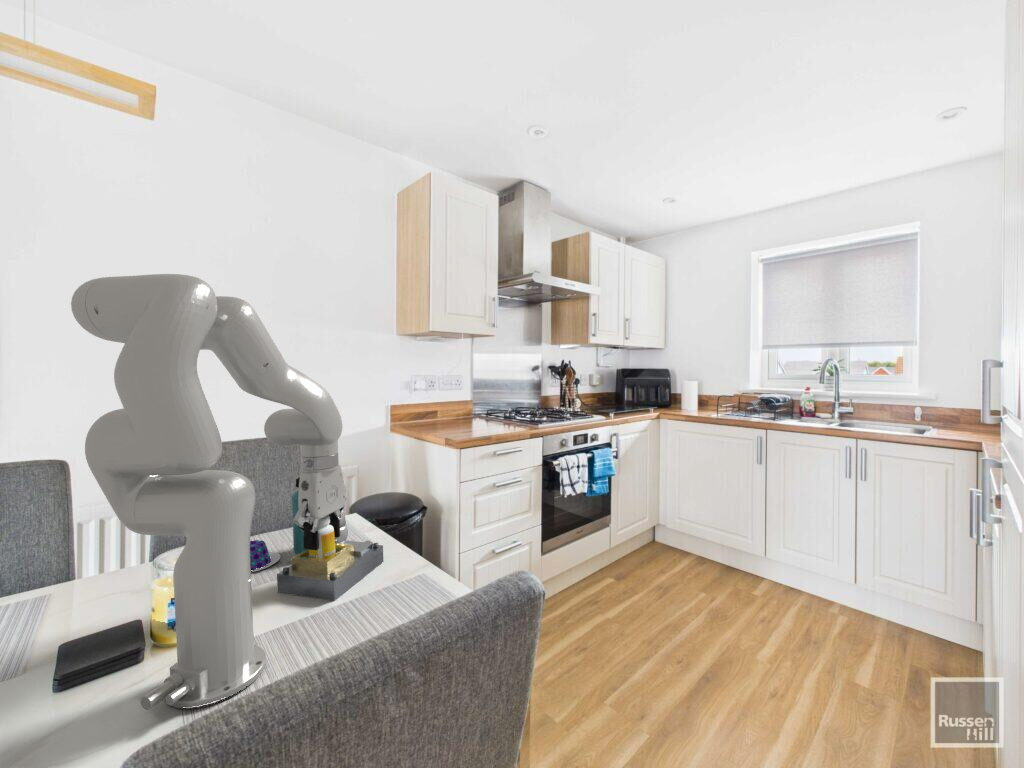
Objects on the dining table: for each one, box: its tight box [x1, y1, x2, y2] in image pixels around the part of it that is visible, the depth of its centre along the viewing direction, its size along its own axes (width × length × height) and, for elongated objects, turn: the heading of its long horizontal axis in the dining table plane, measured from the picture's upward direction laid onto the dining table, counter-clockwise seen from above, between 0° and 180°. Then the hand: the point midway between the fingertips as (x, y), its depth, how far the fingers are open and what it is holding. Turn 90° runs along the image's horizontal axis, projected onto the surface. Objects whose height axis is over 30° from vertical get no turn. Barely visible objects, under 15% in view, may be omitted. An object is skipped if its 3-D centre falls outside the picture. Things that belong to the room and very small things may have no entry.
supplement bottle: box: [309, 516, 336, 559], centre depth 95 cm, size 5×5×10 cm
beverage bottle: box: [290, 476, 311, 555], centre depth 108 cm, size 6×7×20 cm
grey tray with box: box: [276, 539, 384, 601], centre depth 99 cm, size 21×14×6 cm, turn 165°
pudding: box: [250, 539, 281, 573], centre depth 104 cm, size 12×12×5 cm
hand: (323, 542), depth 95 cm, fingers open, 6 cm apart
